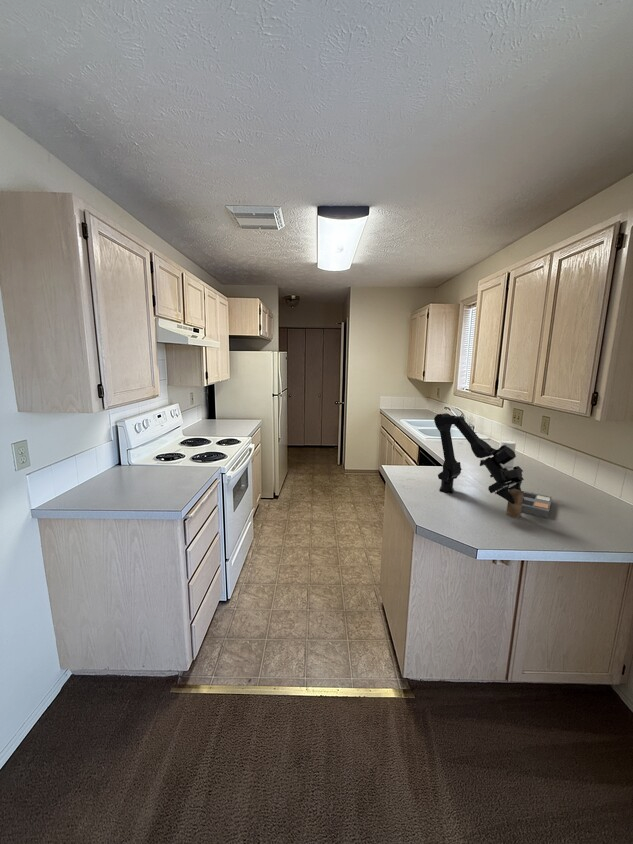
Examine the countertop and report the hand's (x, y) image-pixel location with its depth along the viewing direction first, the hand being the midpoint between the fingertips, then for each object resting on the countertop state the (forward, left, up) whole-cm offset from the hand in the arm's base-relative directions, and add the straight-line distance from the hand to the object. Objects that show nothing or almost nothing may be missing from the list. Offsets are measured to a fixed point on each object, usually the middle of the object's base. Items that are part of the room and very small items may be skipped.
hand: (518, 501), depth 147 cm
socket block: (-16, +7, -7) cm, 18 cm away
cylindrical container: (-34, -4, -7) cm, 35 cm away
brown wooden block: (-1, -1, -7) cm, 7 cm away
